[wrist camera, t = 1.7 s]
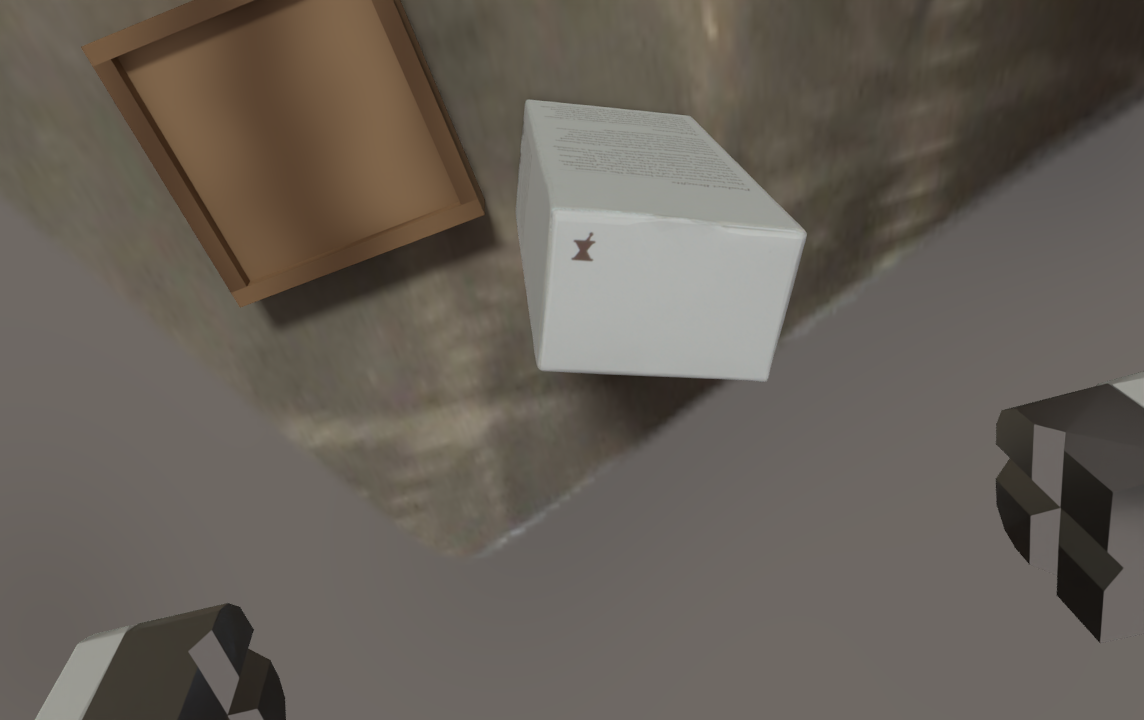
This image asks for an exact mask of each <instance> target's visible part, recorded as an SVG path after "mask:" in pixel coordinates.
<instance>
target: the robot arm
mask: <svg viewBox="0 0 1144 720" xmlns="http://www.w3.org/2000/svg"><path fill="white" fill-rule="evenodd" d="M996 445H997V446H998V447H999V448H1000V449H1001V450H1002V451H1003V452H1004V453H1005V454H1006V455H1007V456H1008V457H1009V458H1010V459H1009V460H1008V462H1007V463H1006V465H1005V466H1004V468H1003V469H1002V471H1001V472H1000V473H999V475H998V476H997V478H996V502H997V503H996V504H997V508H998V511H999V514H1000V517H1001V520H1002V524H1003V527H1004V530H1005V532H1006V533H1007V535H1008V536H1009V538H1010V540H1011V542H1012V543H1013V545H1014V547H1015V548H1016V549H1017V551H1018V552H1019V553H1020V554H1021V555H1022V556H1023V558H1024V559H1025V560H1026V561H1027V562H1028V563H1029V564H1030V565H1032V566H1034V567H1037V568H1039V569H1042V570H1044V571H1047V572H1049V573H1052V574H1054V575H1057V596H1058V597H1059V598H1060V599H1061V601H1062V602H1063V603H1064V604H1065V605H1066V606H1067V607H1068V608H1069V609H1070V610H1071V611H1072V613H1073V614H1074V615H1075V616H1076V617H1077V618H1078V619H1079V621H1080V622H1081V623H1082V624H1083V625H1084V626H1085V627H1086V628H1087V629H1088V630H1089V631H1090V633H1091V634H1092V635H1093V636H1094V637H1095V638H1096V639H1097V640H1098V642H1099V643H1104V642H1108V641H1113V640H1117V639H1122V638H1127V637H1131V636H1136V635H1140V634H1144V371H1143V372H1140V373H1136V374H1132V375H1128V376H1125V377H1121V378H1118V379H1114V380H1110V381H1107V382H1103V383H1100V384H1097V385H1096V386H1095V387H1091V388H1087V389H1084V390H1079V391H1075V392H1071V393H1067V394H1064V395H1060V396H1056V397H1052V398H1048V399H1044V400H1040V401H1036V402H1032V403H1028V404H1024V405H1020V406H1016V407H1013V408H1009V409H1005V410H1002V411H1001V413H1000V416H999V418H998V421H997V423H996ZM253 631H254V629H253V627H252V626H251V624H250V623H249V621H248V619H247V618H246V616H245V614H244V612H243V611H242V609H241V608H240V607H239V606H236V605H233V604H230V603H226V604H222V605H217V606H213V607H209V608H204V609H200V610H195V611H191V612H187V613H182V614H178V615H173V616H169V617H165V618H160V619H156V620H151V621H147V622H142V623H138V624H137V625H134V626H127V627H123V628H118V629H114V630H110V631H106V632H102V633H98V634H94V635H91V636H89V637H88V638H86V639H85V640H83V641H81V642H80V643H78V644H77V646H76V648H75V650H74V651H73V653H72V655H71V657H70V659H69V660H68V662H67V664H66V666H65V667H64V669H63V671H62V673H61V675H60V676H59V678H58V680H57V682H56V683H55V685H54V687H53V689H52V690H51V692H50V694H49V696H48V698H47V699H46V701H45V703H44V705H43V706H42V708H41V710H40V712H39V714H38V715H37V717H36V719H35V720H286V707H285V696H284V692H283V689H282V685H281V682H280V678H279V676H278V674H277V672H276V670H275V668H274V666H273V664H272V662H271V660H269V659H267V658H265V657H263V656H261V655H259V654H258V653H255V652H254V651H252V650H250V649H248V647H249V644H250V641H251V638H252V634H253Z"/></svg>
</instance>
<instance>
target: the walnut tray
mask: <svg viewBox="0 0 1144 720" xmlns="http://www.w3.org/2000/svg"><path fill="white" fill-rule="evenodd" d="M81 48H82V50H83V51H84V53H85V55H86V56H87V58H88V59H89V61H90V63H91V64H92V66H93V68H94V69H95V71H96V73H97V74H98V76H99V77H100V79H101V81H102V82H103V84H104V86H105V87H106V89H107V91H108V92H109V94H110V95H111V97H112V99H113V100H114V102H115V104H116V105H117V107H118V109H119V110H120V112H121V113H122V115H123V117H124V118H125V120H126V122H127V123H128V125H129V127H130V128H131V130H132V131H133V133H134V135H135V136H136V138H137V140H138V141H139V143H140V145H141V146H142V148H143V149H144V151H145V153H146V154H147V156H148V158H149V159H150V161H151V163H152V164H153V166H154V167H155V169H156V171H157V172H158V174H159V176H160V177H161V179H162V181H163V182H164V184H165V185H166V187H167V189H168V190H169V192H170V194H171V195H172V197H173V199H174V200H175V202H176V203H177V205H178V207H179V208H180V210H181V212H182V213H183V215H184V217H185V218H186V220H187V221H188V223H189V225H190V226H191V228H192V230H193V231H194V233H195V235H196V236H197V238H198V240H199V241H200V243H201V244H202V246H203V248H204V249H205V251H206V253H207V254H208V256H209V258H210V259H211V261H212V262H213V264H214V266H215V267H216V269H217V271H218V272H219V274H220V276H221V277H222V279H223V280H224V282H225V284H226V285H227V287H228V289H229V290H230V292H231V294H232V295H233V297H234V298H235V300H236V302H237V303H238V305H239V307H243V306H245V305H248V304H251V303H253V302H256V301H259V300H261V299H264V298H266V297H269V296H272V295H274V294H277V293H280V292H282V291H285V290H288V289H290V288H293V287H295V286H298V285H301V284H303V283H306V282H309V281H311V280H314V279H317V278H319V277H322V276H325V275H327V274H330V273H332V272H335V271H338V270H340V269H343V268H346V267H348V266H351V265H354V264H356V263H359V262H361V261H364V260H367V259H369V258H372V257H375V256H377V255H380V254H383V253H385V252H388V251H391V250H393V249H396V248H398V247H401V246H404V245H406V244H409V243H412V242H414V241H417V240H420V239H422V238H425V237H427V236H430V235H433V234H435V233H438V232H441V231H443V230H446V229H449V228H451V227H454V226H456V225H459V224H462V223H464V222H467V221H470V220H472V219H475V218H478V217H480V216H483V215H485V199H484V197H483V195H482V192H481V190H480V187H479V185H478V183H477V180H476V178H475V176H474V173H473V171H472V169H471V166H470V164H469V162H468V159H467V157H466V154H465V152H464V150H463V147H462V145H461V143H460V140H459V138H458V136H457V133H456V131H455V128H454V126H453V124H452V121H451V119H450V117H449V114H448V112H447V110H446V107H445V105H444V103H443V100H442V98H441V95H440V93H439V91H438V88H437V86H436V84H435V81H434V79H433V77H432V74H431V72H430V69H429V67H428V65H427V62H426V60H425V58H424V55H423V53H422V51H421V48H420V46H419V44H418V41H417V39H416V36H415V34H414V32H413V29H412V27H411V25H410V22H409V20H408V18H407V15H406V13H405V10H404V8H403V6H402V3H401V1H400V0H193V1H191V2H188V3H186V4H183V5H181V6H179V7H176V8H174V9H171V10H169V11H166V12H164V13H162V14H159V15H157V16H154V17H152V18H150V19H147V20H145V21H142V22H140V23H137V24H135V25H133V26H130V27H128V28H125V29H123V30H121V31H118V32H116V33H113V34H111V35H108V36H106V37H104V38H101V39H99V40H96V41H94V42H92V43H89V44H87V45H84V46H82V47H81Z"/></svg>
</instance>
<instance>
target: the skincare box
mask: <svg viewBox="0 0 1144 720" xmlns="http://www.w3.org/2000/svg"><path fill="white" fill-rule="evenodd" d="M516 220H517V227H518V236H519V243H520V250H521V257H522V264H523V271H524V279H525V285H526V293H527V300H528V308H529V315H530V322H531V328H532V334H533V343H534V351H535V358H536V363H537V367H538V368H539V369H540V370H542V371H554V372H572V373H592V374H612V375H635V376H660V377H685V378H706V379H728V380H746V381H758V382H766V381H767V380H768V377H769V373H770V368H771V364H772V361H773V358H774V354H775V350H776V347H777V343H778V340H779V336H780V332H781V329H782V325H783V322H784V318H785V314H786V311H787V307H788V303H789V300H790V296H791V292H792V289H793V285H794V281H795V278H796V274H797V270H798V267H799V263H800V259H801V255H802V252H803V248H804V244H805V241H806V236H807V233H806V231H805V230H804V229H803V228H802V227H801V226H800V225H799V224H798V223H797V222H796V221H795V220H794V219H793V218H792V217H791V216H790V215H789V214H788V213H787V212H786V211H785V210H784V209H783V208H782V207H781V206H780V205H779V204H778V203H777V202H776V201H775V200H774V199H773V198H772V197H771V196H770V195H769V194H768V193H767V192H766V191H765V190H764V189H763V188H762V187H761V186H760V185H759V184H758V183H757V182H756V181H755V180H754V179H753V178H752V177H751V176H750V175H749V174H748V173H747V172H746V171H745V170H744V169H743V168H742V167H741V166H740V165H739V164H738V163H737V162H736V161H735V160H734V159H733V158H732V157H731V156H730V155H729V154H728V153H727V152H726V151H725V150H724V149H723V148H722V147H721V146H720V145H719V144H718V143H717V142H716V141H715V140H714V139H713V138H712V137H711V136H710V135H709V134H708V133H707V132H706V131H705V130H704V129H703V128H702V127H701V126H700V125H699V124H698V123H697V122H696V121H695V120H694V119H693V118H692V117H690V116H686V115H676V114H667V113H657V112H647V111H638V110H627V109H619V108H608V107H598V106H589V105H579V104H568V103H558V102H548V101H538V100H526V102H525V111H524V121H523V131H522V141H521V151H520V163H519V175H518V189H517V202H516Z"/></svg>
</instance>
